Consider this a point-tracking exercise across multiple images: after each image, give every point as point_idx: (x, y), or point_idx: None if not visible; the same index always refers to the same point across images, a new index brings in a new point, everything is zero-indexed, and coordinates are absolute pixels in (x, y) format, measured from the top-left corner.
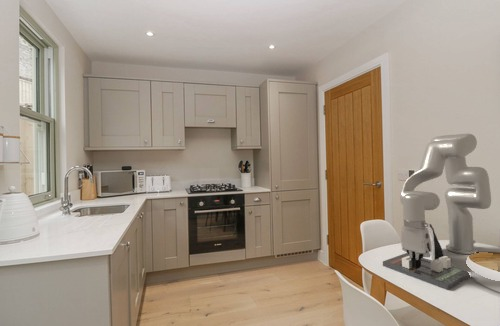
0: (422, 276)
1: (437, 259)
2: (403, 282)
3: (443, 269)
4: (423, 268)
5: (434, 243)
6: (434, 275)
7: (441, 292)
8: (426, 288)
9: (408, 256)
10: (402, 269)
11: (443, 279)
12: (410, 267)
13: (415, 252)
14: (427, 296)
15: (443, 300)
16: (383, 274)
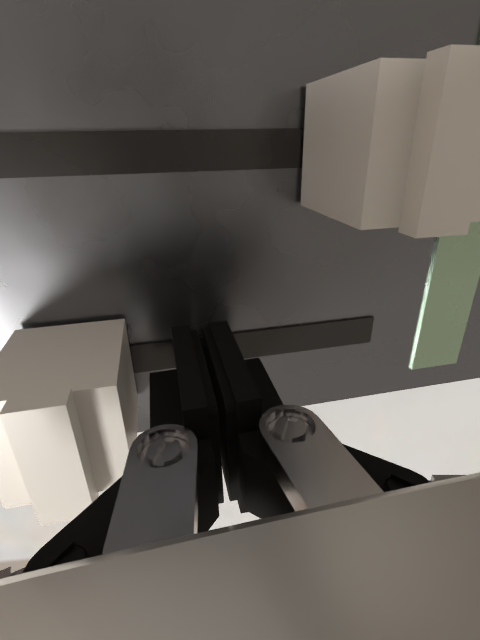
0: (306, 401)
1: (465, 76)
2: (223, 506)
3: (393, 6)
4: (212, 231)
5: None
6: (378, 305)
7: (443, 410)
8: (362, 445)
9: (26, 426)
10: None
11: (463, 320)
12: (132, 379)
13: (193, 506)
14: None
15: (471, 470)
16: (38, 545)
